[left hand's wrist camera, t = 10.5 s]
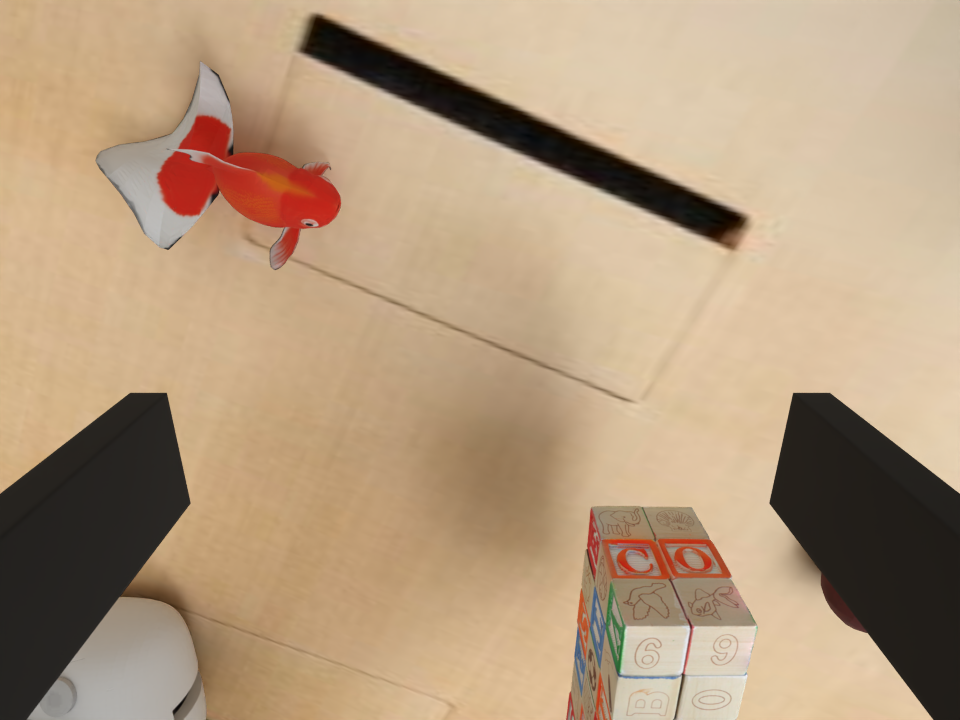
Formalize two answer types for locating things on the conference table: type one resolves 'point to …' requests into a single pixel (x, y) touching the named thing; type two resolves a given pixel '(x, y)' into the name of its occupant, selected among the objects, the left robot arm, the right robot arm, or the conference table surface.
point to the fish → (216, 177)
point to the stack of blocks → (657, 621)
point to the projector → (130, 669)
